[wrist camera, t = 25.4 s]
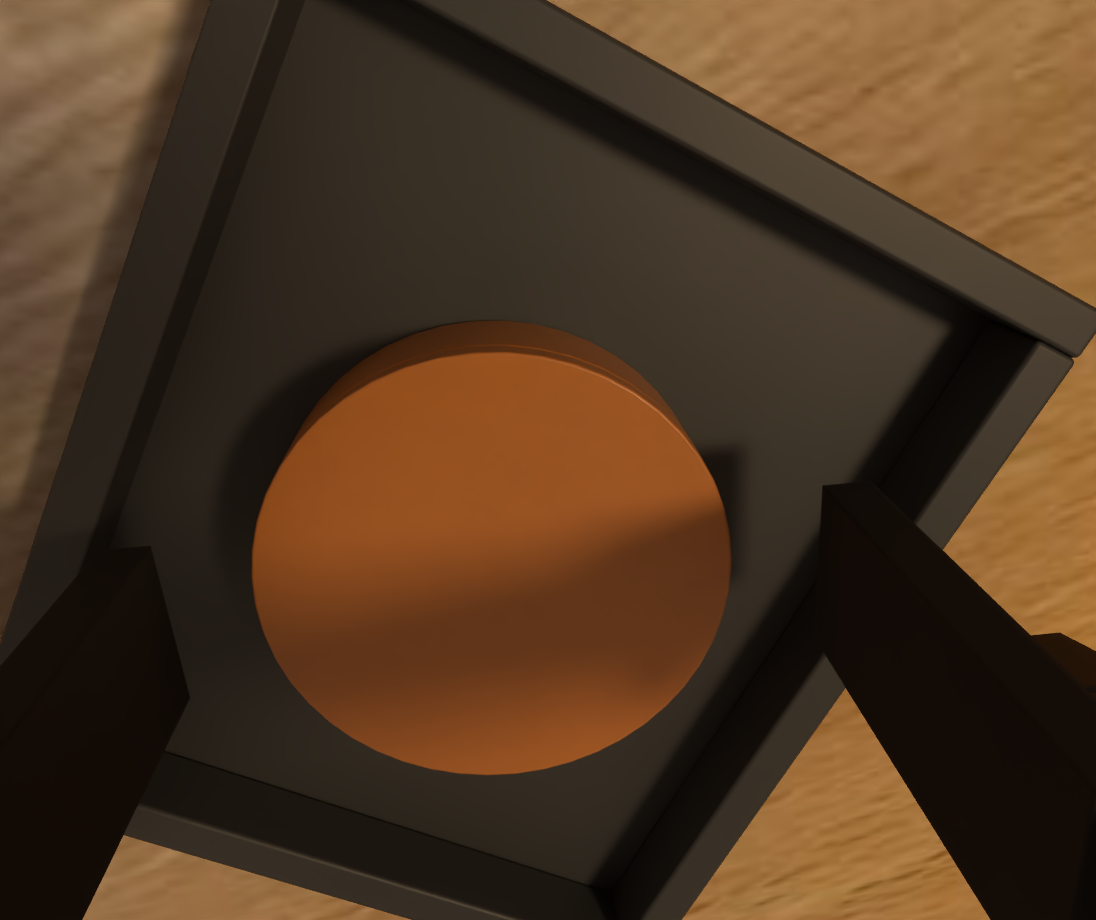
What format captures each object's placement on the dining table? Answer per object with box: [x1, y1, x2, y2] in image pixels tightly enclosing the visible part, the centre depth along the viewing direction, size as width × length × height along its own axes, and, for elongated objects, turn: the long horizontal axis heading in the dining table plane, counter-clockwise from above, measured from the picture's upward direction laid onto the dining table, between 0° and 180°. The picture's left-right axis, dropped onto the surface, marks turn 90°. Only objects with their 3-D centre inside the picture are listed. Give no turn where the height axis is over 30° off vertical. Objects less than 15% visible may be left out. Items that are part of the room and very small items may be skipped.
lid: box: [252, 321, 732, 775], centre depth 15 cm, size 8×8×2 cm
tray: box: [0, 0, 1096, 920], centre depth 16 cm, size 16×14×2 cm
